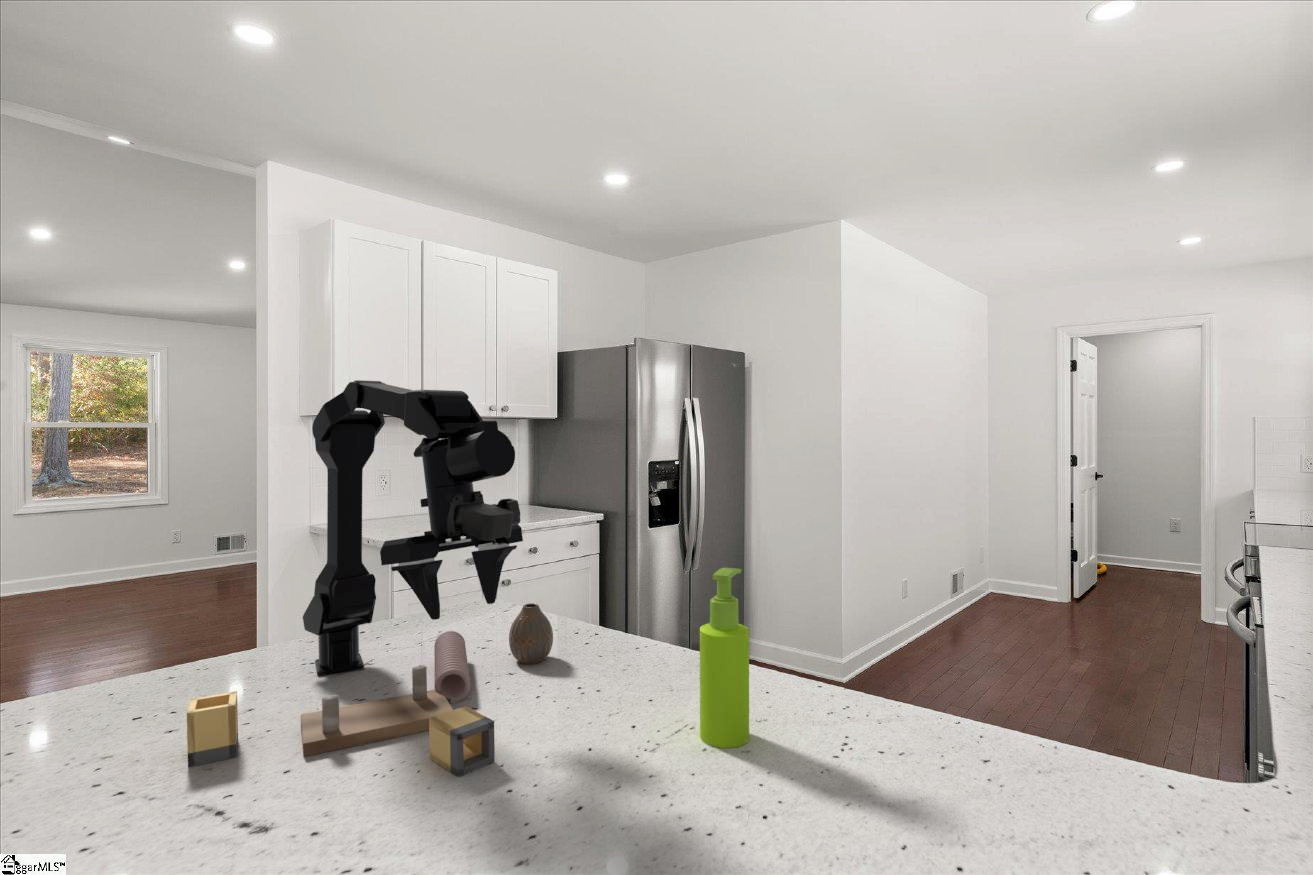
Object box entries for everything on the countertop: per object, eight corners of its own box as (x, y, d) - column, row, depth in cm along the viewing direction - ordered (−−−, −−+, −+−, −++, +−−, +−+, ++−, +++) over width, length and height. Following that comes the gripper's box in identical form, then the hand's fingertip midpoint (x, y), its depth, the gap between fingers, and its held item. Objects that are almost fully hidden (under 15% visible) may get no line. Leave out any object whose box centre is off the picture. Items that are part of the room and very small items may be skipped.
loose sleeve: (192, 749, 81) (190, 698, 81) (238, 740, 84) (237, 691, 83) (188, 766, 77) (186, 713, 77) (236, 757, 80) (235, 704, 79)
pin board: (300, 726, 87) (299, 682, 87) (440, 699, 96) (439, 659, 95) (303, 756, 80) (302, 708, 79) (455, 724, 88) (454, 681, 88)
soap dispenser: (757, 727, 86) (757, 566, 86) (740, 752, 80) (739, 578, 80) (713, 719, 89) (712, 563, 88) (692, 742, 83) (692, 574, 82)
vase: (560, 655, 113) (560, 601, 113) (540, 669, 107) (539, 612, 107) (523, 650, 116) (522, 598, 115) (500, 664, 109) (500, 609, 109)
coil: (472, 671, 95) (466, 629, 112) (437, 670, 94) (436, 628, 111) (467, 705, 95) (462, 658, 112) (432, 704, 94) (432, 657, 111)
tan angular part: (457, 734, 75) (429, 718, 79) (458, 777, 75) (429, 758, 79) (494, 720, 78) (465, 705, 82) (494, 761, 78) (465, 744, 82)
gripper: (435, 482, 77) (452, 626, 75) (546, 474, 93) (561, 593, 91) (370, 495, 82) (385, 629, 81) (485, 486, 98) (499, 597, 97)
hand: (464, 611), depth 87 cm, fingers open, 9 cm apart
